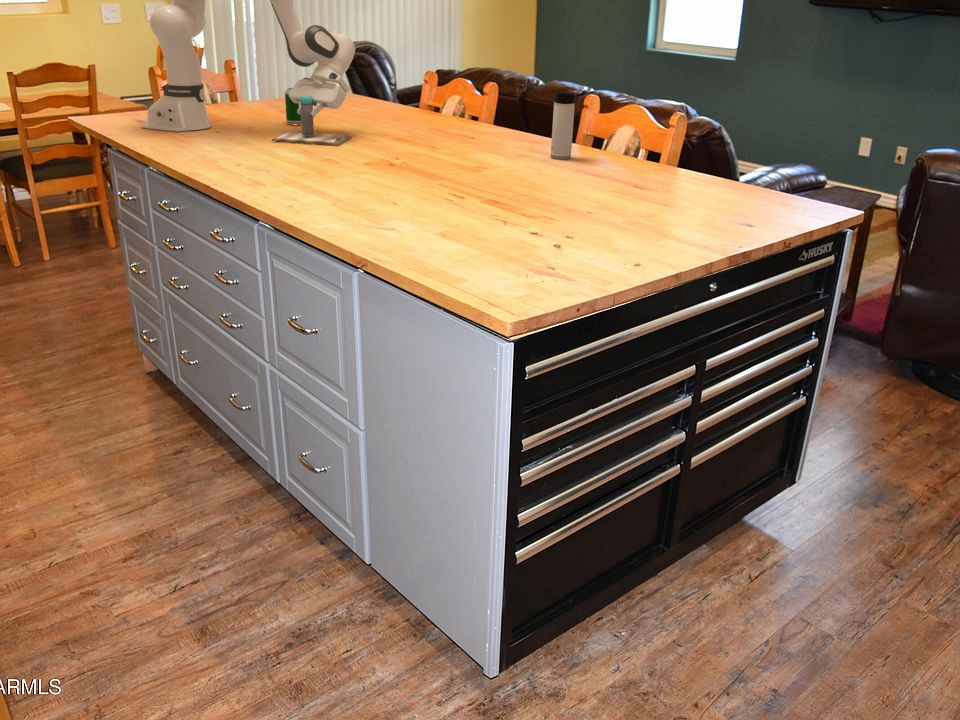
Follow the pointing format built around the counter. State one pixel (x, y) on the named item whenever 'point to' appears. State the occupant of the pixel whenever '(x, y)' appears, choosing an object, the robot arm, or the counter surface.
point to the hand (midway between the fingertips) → (305, 114)
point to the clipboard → (313, 138)
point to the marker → (306, 115)
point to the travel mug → (562, 126)
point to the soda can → (291, 110)
